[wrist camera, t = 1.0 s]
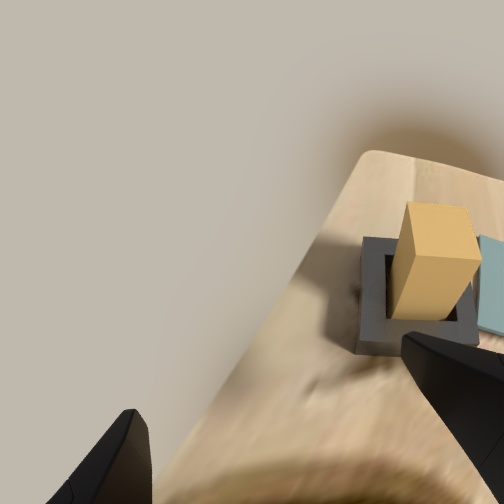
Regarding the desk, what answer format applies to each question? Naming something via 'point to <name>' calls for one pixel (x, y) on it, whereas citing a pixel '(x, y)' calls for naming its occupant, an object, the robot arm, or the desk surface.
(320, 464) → the desk surface
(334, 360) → the desk surface
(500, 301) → the rubber mat
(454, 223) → the ochre square block
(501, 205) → the desk surface
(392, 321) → the square-hole plate
